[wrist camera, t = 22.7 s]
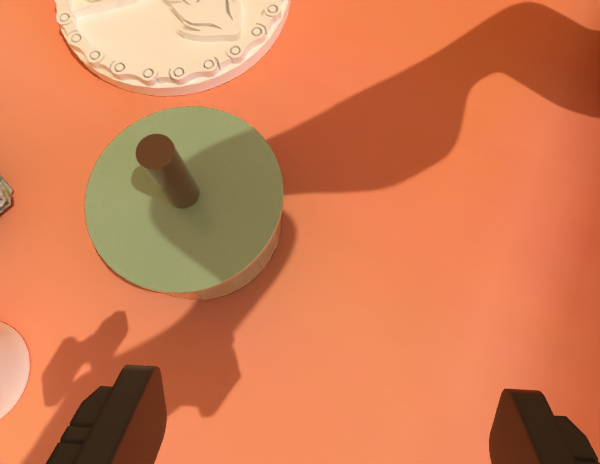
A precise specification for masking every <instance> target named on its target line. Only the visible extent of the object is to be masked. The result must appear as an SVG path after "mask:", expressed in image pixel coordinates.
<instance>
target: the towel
mask: <svg viewBox="0 0 600 464" xmlns="http://www.w3.org/2000/svg"><path fill="white" fill-rule="evenodd" d="M12 192H13V190H12V188H11V187H10V186H9V185H8V184H7V182H6V181H5V180H4V179H3V178H2V177H1V176H0V214H1V213H2V212H3V211H4V210H5V209H6V208H7V207H8V206H10V205H11V198H12V196H11V193H12Z"/></svg>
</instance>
